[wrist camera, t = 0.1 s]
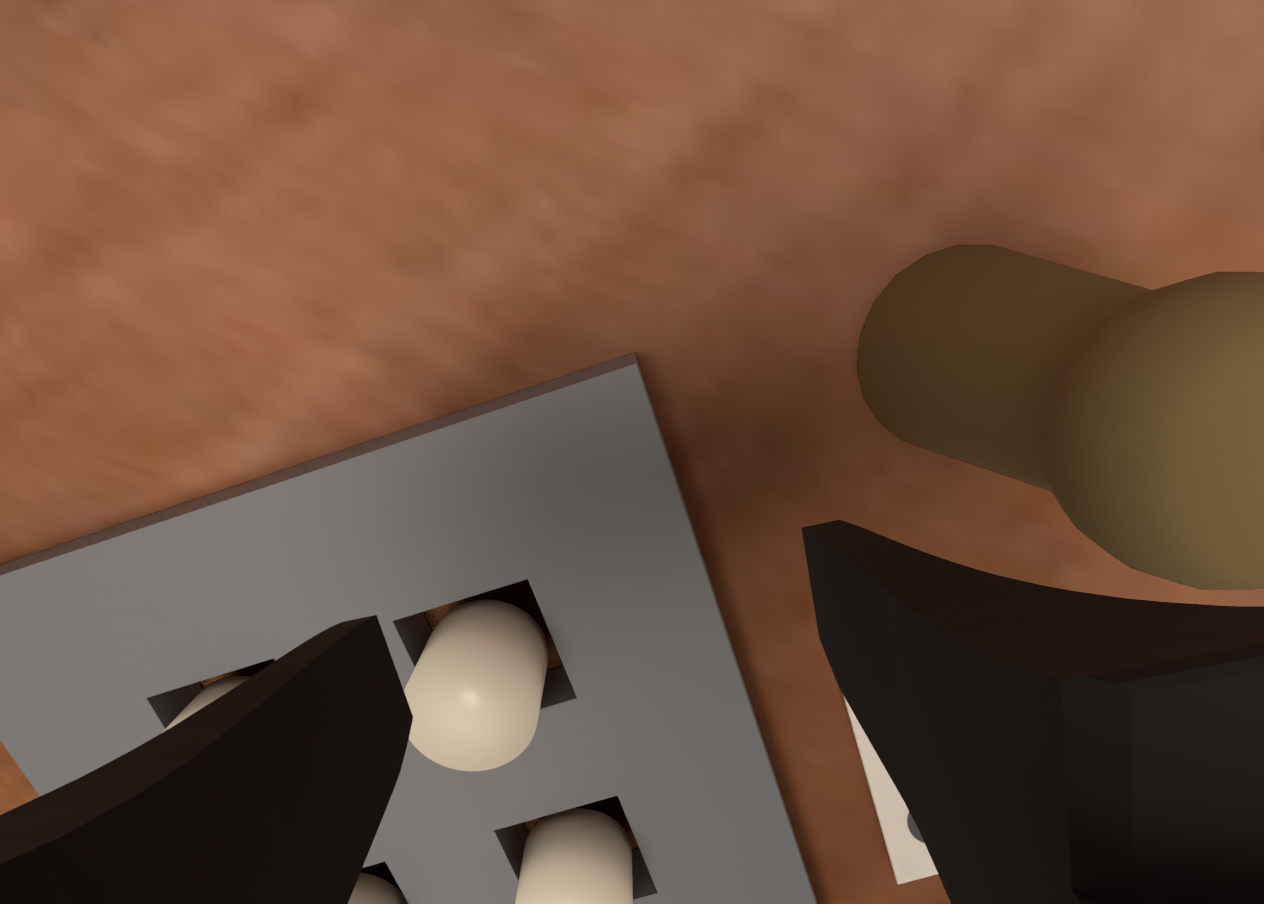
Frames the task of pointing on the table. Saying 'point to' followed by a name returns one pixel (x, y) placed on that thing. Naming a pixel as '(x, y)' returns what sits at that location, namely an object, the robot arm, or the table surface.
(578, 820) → the button
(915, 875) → the card
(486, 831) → the board
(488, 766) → the button
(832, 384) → the table surface
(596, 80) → the table surface
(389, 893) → the button
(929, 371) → the olive pawn figure
